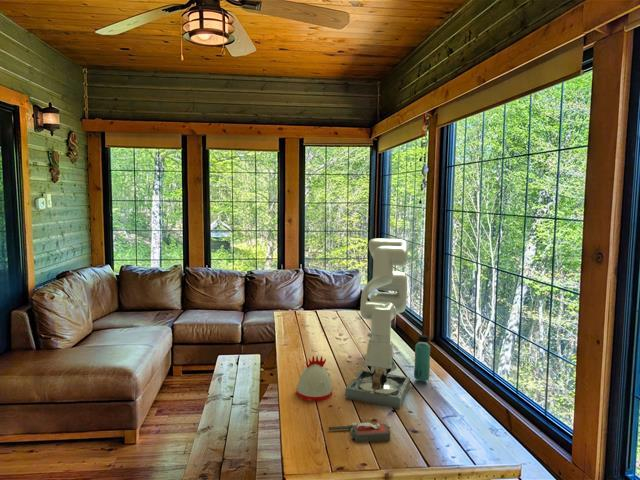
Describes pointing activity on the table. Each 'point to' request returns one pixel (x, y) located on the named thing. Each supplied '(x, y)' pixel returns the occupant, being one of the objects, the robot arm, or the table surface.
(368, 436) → the walkie-talkie
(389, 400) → the dial housing
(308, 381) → the kitchen timer
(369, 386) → the dial
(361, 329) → the table surface
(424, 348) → the beverage bottle
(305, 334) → the table surface
